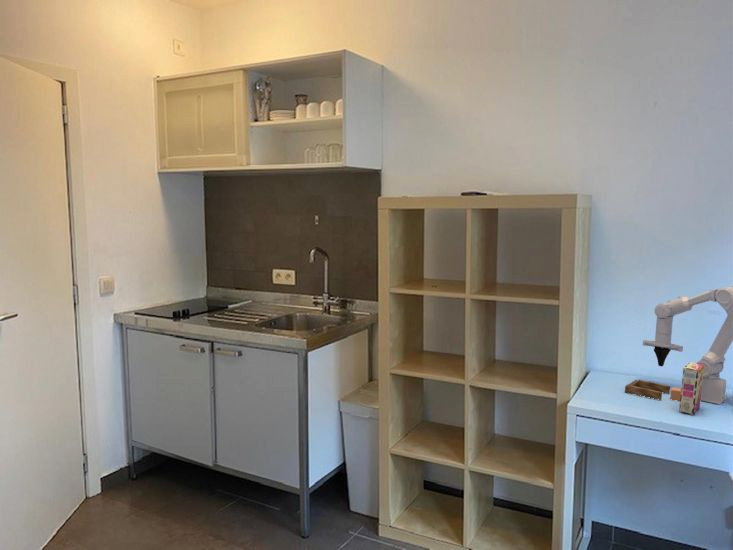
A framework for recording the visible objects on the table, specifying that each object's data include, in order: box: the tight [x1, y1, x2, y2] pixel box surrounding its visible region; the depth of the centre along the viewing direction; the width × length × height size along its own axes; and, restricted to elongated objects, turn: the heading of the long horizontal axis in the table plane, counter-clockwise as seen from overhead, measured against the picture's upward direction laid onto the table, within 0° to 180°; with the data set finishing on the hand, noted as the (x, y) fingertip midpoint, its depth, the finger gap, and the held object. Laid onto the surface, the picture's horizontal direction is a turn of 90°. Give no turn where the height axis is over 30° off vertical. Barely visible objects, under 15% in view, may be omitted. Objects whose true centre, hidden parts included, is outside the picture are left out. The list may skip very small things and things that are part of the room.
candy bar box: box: [678, 361, 704, 416], centre depth 213 cm, size 11×5×16 cm, turn 141°
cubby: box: [624, 379, 671, 401], centre depth 231 cm, size 13×11×3 cm
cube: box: [670, 386, 682, 402], centre depth 225 cm, size 4×4×4 cm
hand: (660, 365), depth 240 cm, fingers closed
